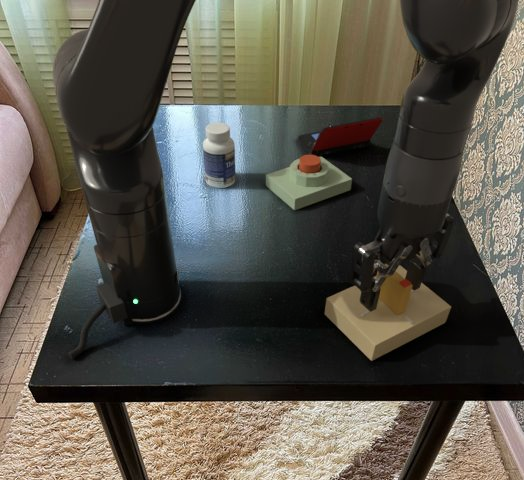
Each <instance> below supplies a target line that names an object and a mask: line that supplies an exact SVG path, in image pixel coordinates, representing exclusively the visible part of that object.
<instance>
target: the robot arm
mask: <svg viewBox="0 0 524 480" xmlns="http://www.w3.org/2000/svg"><path fill="white" fill-rule="evenodd" d="M196 1H197V0H98V1H97V5H96V8H95V10H94V13H93V15H92V18H91V21H90V23H89V26H88V27H87V29H83V30H79V31H77V32H74V33H73V34H72V35H70V36H68V37H67V38H66V39H65V40H64V41H63V42H62V44H61V45H60V46H59V48H58V50H57V52H56V54H55V57H54V60H53V65H52V80H53V87H54V93H55V99H56V104H57V109H58V112H59V115H60V117H61V120H62V122H63V124H64V127H65V130H66V133H67V137H68V141H69V144H70V149H71V153H72V157H73V161H74V166H75V169H76V174H77V178H78V182H79V185H80V189H81V192H82V195H83V199H84V202H85V205H86V209H87V213H88V217H89V220H90V225H91V228H92V232H93V236H94V238H95V242H96V244H95V245H94V246H93V250H94V254H95V257H96V261H97V265H98V268H99V271H100V275H101V279H102V282H103V283H101V284H99V285H96V286H95V288H96V292H97V295H98V298H99V301H100V305H99V306H98V307H97V308H96V309H95V310H94V311H93V312H92V313H91V314H90V316H89V317H88V318H87V319H86V321H85V322H84V324H83V326H82V327H81V330H80V336H79V337H80V338H79V342H78V345H77V346H76V348H74V349H72V350H70V351H69V352H68V353H67V356H68V357H69V358H70V359H74V358H76V357H78V356H80V354H82V353H83V351H84V350H85V348H86V346H87V344H88V336H89V332H90V329H91V327H92V326H93V324H94V323H95V321H96V320H97V319H98V318H100V316H101V315H102V314H103V313H104V312H105V311H106V314H107V315H108V316H109V318H110V319H111V321H112V323H113V324H117V323H119V322H122V324H123V325H124V327H128V326H130V325H152V324H157V323H159V322H162V321H164V320H166V319H168V318H170V317H171V316H173V315H174V314H175V313H176V312H177V311H178V310H179V308H180V306H181V303H182V292H181V287H180V271H179V270H180V269H178V267H177V262H176V256H175V248H174V242H173V233H172V228H171V221H170V213H169V205H168V199H167V193H166V185H165V178H164V171H163V167H162V162H161V159H160V158H161V157H160V154H159V150H158V146H157V142H156V137H155V132H154V124H155V123H156V122H155V121H156V119H157V116H158V112H159V109H160V107H161V102H162V100H163V96H164V92H165V89H166V86H167V82H168V79H169V75H170V72H171V68H172V65H173V62H174V58H175V55H176V53H177V48H178V45H179V42H180V40H181V37H182V34H183V31H184V29H185V26H186V23H187V21H188V19H189V16H190V14H191V12H192V9H193V7H194V6H195V3H196ZM519 1H520V0H399V5H400V13H401V19H402V24H403V28H404V30H405V33H406V36H407V38H408V41H409V43H410V45H411V46H412V47H413V49H414V51H415V52H416V53H417V54H418V55H419V56H420V57H421V58H422V59H423V60H424V63H423V64H422V67H421V68H420V70H419V72H418V73H417V74H416V75H415V77H414V78H413V79H412V80H411V81H410V82H409V83H408V85H407V86H406V89H405V90H404V93H403V96H402V99H401V103H400V107H399V111H398V117H397V122H396V126H395V132H394V136H393V140H392V143H391V147H390V150H389V153H388V155H387V159H386V164H385V170H384V175H383V180H382V185H381V189H380V194H379V199H378V205H377V209H376V210H377V211H376V216H377V220H378V224H379V230H378V231H377V234H376V235H375V237H374V239H373V241H371V242H369V243H366V244H363V242H361V241H359V242H356V243H355V245H354V246H353V249H352V256H351V265H350V274H349V282H350V283H351V284H353V286H356V287H357V288H358V289H360V291H361V296H360V303H361V304H362V305H363V306H364V307H365V308H366V309H368V310H369V311H370V312H371V311H373V310H376V308H377V304H378V299H379V295H380V291H381V289H380V287H381V286H382V284H383V283H384V281H385V280H386V278H387V277H391V276H392V275H393V274H394V273H395V271H396V269H397V268H398V266H401V265H402V264H403V263H404V262H406V261H409V262H408V266H407V273H406V277H405V279H407V280H408V281H409V282H411V284H412V285H413V286H412V289H413V290H417V289H419V288H420V286H421V283H423V281H424V278H425V276H426V271H427V269H428V268H429V267H430V266H431V265H432V264H433V260H435V259H436V260H440V259H441V258H442V257H443V255H444V253H445V251H446V248H447V245H448V242H449V239H450V236H451V234H452V231H453V228H454V225H455V222H456V219H455V217H453V216H451V215H450V214H449V213H448V211H449V208H450V205H451V201H452V198H453V196H454V192H455V189H456V185H457V182H458V179H459V175H460V172H461V167H462V163H463V156H464V151H465V147H466V144H467V141H468V138H469V134H470V131H471V128H472V125H473V121H474V117H475V113H476V109H477V105H478V103H479V101H480V98H481V96H482V93H483V92H484V90H485V88H486V86H487V84H488V82H489V80H490V78H491V76H492V74H493V72H494V70H495V68H496V65H497V63H498V61H499V59H500V56H501V54H502V51H503V50H504V47H505V45H506V43H507V41H508V38H509V35H510V34H511V31H512V29H513V25H514V22H515V19H516V17H517V16H516V15H517V11H518V7H519V3H520V2H519ZM435 241H436V242H437V245H435V244H434V242H435ZM381 257H382V259H383V260H385V262H387V263H388V264H387V265H388V267H386V266H385V265H384V264H385V263H383V262H382V261H381ZM376 271H378V272H379V275H378V276H377V278H376V279H374V278H373V277H374V276H373V275H374V273H375V272H376Z"/></svg>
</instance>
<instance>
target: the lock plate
mask: <svg viewBox="0 0 524 480" xmlns="http://www.w3.org/2000/svg"><path fill="white" fill-rule="evenodd" d="M407 270H408V269H407ZM407 270H406V269H405V268H404V267H403V266H402V265H399V266H398V268H397V269H396V272H397V273H398V274H400V275H401V276H402V277H403V278H404V279H405V277H406V273H407ZM372 277H373V278H374V279H376V275H375V276H372ZM360 296H361V291H360V289H358V288H357V287H356V286H355V285H353V286H350V287H348V288H346V289H343V290H342V291H339V292H337V293H335V294H333V295H331V296H328V297H326V299H325V307H324V315H325V317H326V318H327V319H329V320H330V321H331V322H332V324H334V326H336V327H337V328H338V329H339V330H340V331H341V333H343V334H344V335H345V336H346V337H347V338H348V339H349V341H351V343H353V344H354V345H355V346H356V347H357V348H358V349H359V350H360V351H361V352H362V353H363V354H364V356H366V357H367V359H369V360H370V361H371V362H373V361H374V360H376V359H379V358H381V357H383V356H384V355H386V354H388V353H390V352H393V350H395V349H397V348H400V347H401V346H403V345H406V344H407V343H409V342H411V341H413V340H415V339H417V338H419V337H420V336H423V335H425V334H427V333H428V332H430V331H432V330H434V329H436V328H438V327H440V326H442V325H445V324H446V322H447V320H448V317H449V314H450V312H451V309H452V306H451V305H450V304H449V303H447V302H446V300H444V299H443V298H441V297H440V296H439V295H437V294H436V292H434V291H433V290H431V289H430V287H428V286H427V285H425V283H423V282H422V283H421V286H420V288H419V289H417V290H413V289H412V290H411V293H410V297H409V300H408V304H407V307H406V311H405V312H403V313H401V314H399V315H397V314H396V313H395V312H394V311H392V310H391V309H390V308H389V307H388V306H387V305H386V304H385V303H383V302H382V301H381V300H380V299H378V304H377V308H376V310H373V311H371V312H370V311H369V310H368V309H366V308H365V307H364V306H363V305H362V304H361V303H360Z"/></svg>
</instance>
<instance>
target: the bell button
mask: <svg viewBox="0 0 524 480" xmlns="http://www.w3.org/2000/svg"><path fill="white" fill-rule="evenodd" d="M319 157H320V156H315V155H310V154H304V155H302V156H301V157H299V159H300V161H299V170H300V171H301V172H304V173H307V174H314V173H317V172H319V171H320V165H321V159H320V158H319Z"/></svg>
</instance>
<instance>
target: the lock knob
mask: <svg viewBox="0 0 524 480" xmlns="http://www.w3.org/2000/svg"><path fill="white" fill-rule="evenodd" d="M383 264H384V265H385V266H386V267H388V265H389V264H388V263H383ZM376 271H377V270H376ZM378 275H379V272H378V271H377V272H376V275H375V276H376V278H377V276H378ZM412 286H413V285H412V284H411V282H409V281H408V280H407V279H404V278H403V277H402V276H401V275H400V274H398V273H397V272H396V271H395V273H394V274H393V275H392V276H391V277H387V278H386V280H385V281H384V283H383V284H382V286H381V287H380V289H381V291H380V295H379V299H380V300H381V301H382V302H383V303H385V304H386V305H387V306H388V307H389V308H390V309H391V310H392V311H394V312H395V313H396V314H397V315H399V314H401V313H403V312H405V311H406V307H407V304H408V300H409V297H410V293H411V290H412Z"/></svg>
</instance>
